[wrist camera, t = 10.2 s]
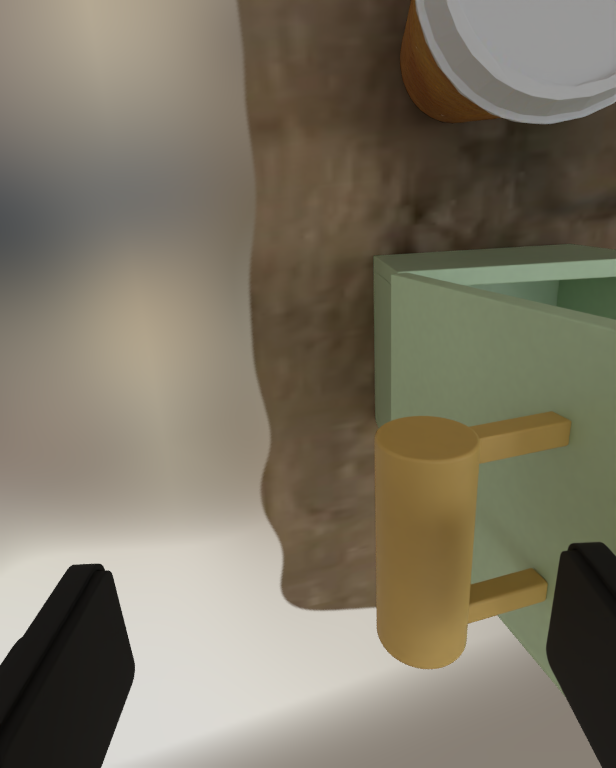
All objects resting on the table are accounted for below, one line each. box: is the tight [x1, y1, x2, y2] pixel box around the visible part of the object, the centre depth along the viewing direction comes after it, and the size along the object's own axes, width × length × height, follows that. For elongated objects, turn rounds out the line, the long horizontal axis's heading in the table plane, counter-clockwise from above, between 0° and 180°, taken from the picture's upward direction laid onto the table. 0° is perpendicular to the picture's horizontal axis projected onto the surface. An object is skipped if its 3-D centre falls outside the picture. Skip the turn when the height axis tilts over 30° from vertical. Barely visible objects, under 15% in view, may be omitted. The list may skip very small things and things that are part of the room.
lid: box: [375, 273, 616, 696], centre depth 16 cm, size 12×11×6 cm
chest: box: [373, 244, 616, 428], centre depth 27 cm, size 12×11×8 cm
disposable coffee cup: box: [400, 0, 616, 124], centre depth 19 cm, size 10×10×12 cm
